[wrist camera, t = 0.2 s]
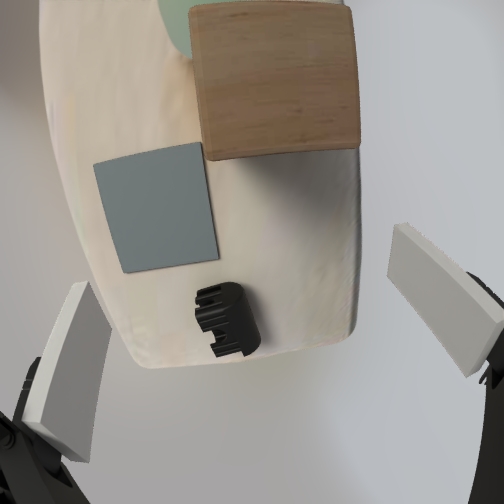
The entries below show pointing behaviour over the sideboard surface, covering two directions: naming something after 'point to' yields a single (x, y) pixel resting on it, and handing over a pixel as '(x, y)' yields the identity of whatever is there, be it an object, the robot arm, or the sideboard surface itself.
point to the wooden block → (275, 77)
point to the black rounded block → (227, 319)
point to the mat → (158, 207)
